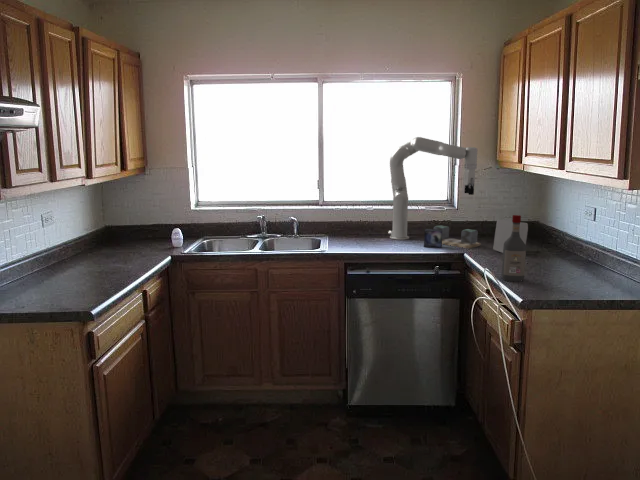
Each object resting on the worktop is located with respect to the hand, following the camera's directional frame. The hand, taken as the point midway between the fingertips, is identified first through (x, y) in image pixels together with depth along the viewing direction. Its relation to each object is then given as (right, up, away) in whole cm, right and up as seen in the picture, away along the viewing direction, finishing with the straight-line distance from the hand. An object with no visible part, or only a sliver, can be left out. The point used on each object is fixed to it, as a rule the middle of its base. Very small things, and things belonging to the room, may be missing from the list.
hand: (468, 193), depth 350 cm
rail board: (-11, -32, -8) cm, 35 cm away
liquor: (-6, -48, -95) cm, 107 cm away
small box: (-27, -34, -18) cm, 47 cm away
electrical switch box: (+16, -37, -31) cm, 51 cm away
